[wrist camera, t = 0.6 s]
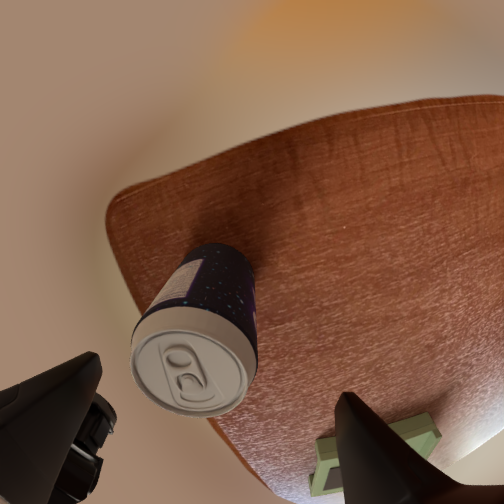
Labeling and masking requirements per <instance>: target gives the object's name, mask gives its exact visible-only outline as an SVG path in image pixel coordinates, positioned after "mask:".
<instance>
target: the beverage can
mask: <svg viewBox="0 0 504 504" xmlns="http://www.w3.org/2000/svg"><path fill="white" fill-rule="evenodd" d="M131 351H132V352H131V355H130V370H131V374H132V377H133V379H134V381H135V383H136V385H137V386H138V388H139V389H140V390H141V392H142V393H143V394H144V395H145V396H146V397H147V398H148V399H149V400H151V401H152V402H153V403H155V404H156V405H158V406H159V407H161V408H163V409H165V410H167V411H169V412H172V413H175V414H178V415H181V416H186V417H193V418H207V417H214V416H218V415H221V414H224V413H226V412H228V411H230V410H232V409H233V408H235V407H236V406H237V405H238V404H239V403H240V402H241V401H242V400H243V398H244V397H245V395H246V393H247V390H248V387H249V386H250V384H251V383H252V381H253V379H254V377H255V375H256V372H257V368H258V350H257V327H256V305H255V283H254V273H253V269H252V267H251V265H250V263H249V261H248V260H247V259H246V257H245V256H244V255H243V254H242V253H241V252H239V251H238V250H236V249H235V248H233V247H231V246H228V245H225V244H219V243H210V244H205V245H202V246H199V247H197V248H195V249H194V250H192V251H191V252H190V253H189V254H188V255H187V256H186V257H185V259H184V260H183V261H182V263H181V264H180V265H179V267H178V268H177V269H176V271H175V272H174V273H173V275H172V276H171V277H170V279H169V280H168V281H167V283H166V284H165V285H164V287H163V288H162V290H161V291H160V292H159V294H158V295H157V296H156V298H155V299H154V301H153V302H152V303H151V305H150V306H149V308H148V309H147V310H146V312H145V313H144V315H143V316H142V318H141V319H140V320H139V322H138V323H137V325H136V327H135V329H134V331H133V335H132V339H131Z"/></svg>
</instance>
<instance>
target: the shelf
mask: <svg viewBox="0 0 504 504" xmlns="http://www.w3.org/2000/svg"><path fill="white" fill-rule="evenodd" d="M388 426H389V427H391V428H392V429H393V430H394V431H395V432H396V433H397V434H398V435H399V436H400V437H401V438H402V439H403V440H404V441H405V442H407V443H408V444H409V445H410V448H411V447H412V448H413V449H414V450H415V451H416V452H417V453H419V454H420V455H421V456H422V457H423V458H424V459H426V460H427V459H428V457H429V456H430V454H431V453H432V451H433V450H434V448H435V447H436V445H437V444H438V442H439V441H440V439H441V437H442V435H441V433H440V431H439V430H438V429H437V427H436V425H435V424H434V422H433V420H432V419H431V417H430V415H429V414H428V412H425V413H423V414H420V415H417V416H414V417H411V418H408V419H405V420H401V421H398V422H395V423H391V424H388ZM315 450H316V454H317V459H318V461H317V466H316V470H315V474H314V475H309V478H308V482H309V488H310V493H311V497H315V496H321V495H327V494H332V493H337V492H342V491H343V485H342V478H341V472H340V465H339V459H338V453H337V447H336V436H335V437H329V438H323V439H317V440H316V442H315Z"/></svg>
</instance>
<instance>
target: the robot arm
mask: <svg viewBox="0 0 504 504" xmlns="http://www.w3.org/2000/svg"><path fill="white" fill-rule="evenodd" d="M101 376H102V366H101V362H100V358H99V355H98V354H97V353H94V352H90V351H88V352H86V353H84V354H81V355H79V356H77V357H75V358H73V359H71V360H69V361H67V362H65V363H63V364H60V365H58V366H56V367H54V368H52V369H49V370H47V371H45V372H43V373H41V374H39V375H36V376H34V377H32V378H30V379H28V380H25V381H23V382H21V383H20V384H17V385H14V386H12V387H10V388H8V389H5V390H2V391H0V504H77V503H79V502H81V501H83V500H84V499H85V498H87V495H90V494H91V493H92V492H93V490H94V488H95V487H96V485H97V482H98V479H99V475H100V471H101V467H102V464H103V459H102V458H101V457H98V456H96V453H97V451H98V449H99V448H102V446H103V444H104V442H105V439H106V437H107V435H108V434H113V432H114V431H113V429H112V428H111V426H110V424H109V423H108V421H107V419H106V417H105V415H104V414H103V412H102V410H101V408H100V406H99V404H98V403H97V402H95V401H92V400H93V397H94V395H95V392H96V389H97V387H98V384H99V381H100V379H101ZM334 412H335V430H336V447H337V453H338V459H339V465H340V472H341V478H342V485H343V491H344V498H345V504H504V485H487V486H486V485H484V486H483V485H464V484H461V483H459V482H457V481H455V480H453V479H452V478H450V477H449V476H447V475H446V474H444V473H443V472H442V471H440V470H439V469H437V468H436V467H435V466H433V465H432V464H431V463H429V462H428V461H427V460H426V459H424V458H423V457H422V456H421V455H420V454H419V453H417V452H416V451H415V450H414V449H413V448H412V447H411V448H410V445H409V444H408V443H407V442H405V441H404V440H403V439H402V438H401V437H400V436H399V435H398V434H397V433H396V432H395V431H394V430H393V429H392V428H391V427H389V426H388V425H387V424H386V423H385V422H384V421H383V420H382V419H381V418H380V417H379V416H378V415H377V414H376V413H375V412H374V411H373V410H372V409H371V408H370V407H369V406H368V405H366V404H365V403H364V402H363V401H362V400H361V399H360V398H359V397H358V396H357V395H356V394H355V393H354V392H343V393H342V394H341V396H340V398H339V400H338V402H337V404H336V406H335V411H334Z"/></svg>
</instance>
